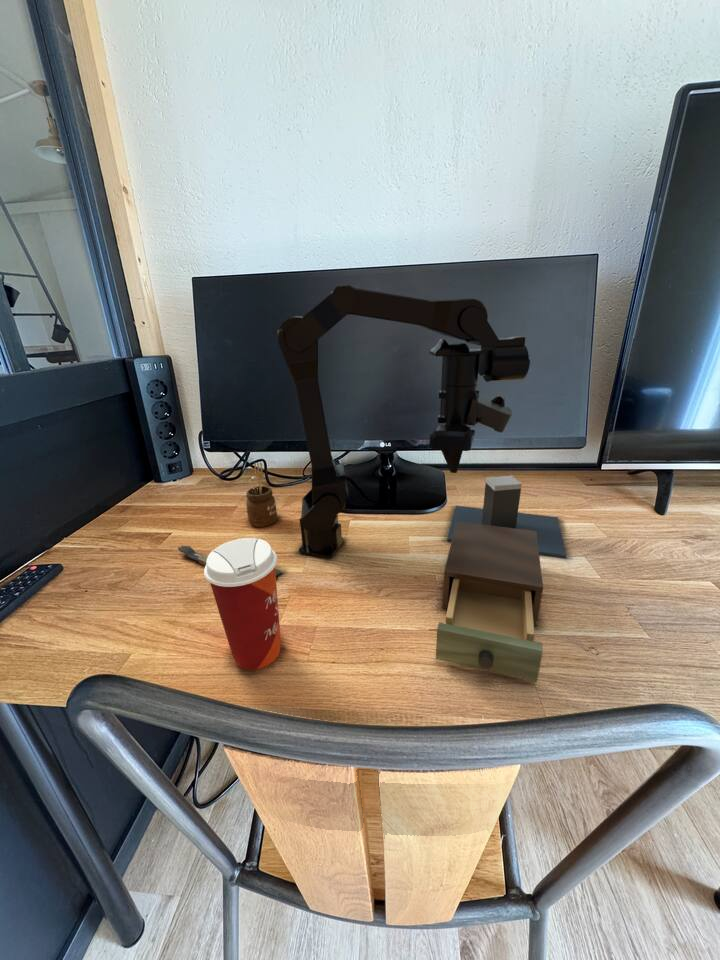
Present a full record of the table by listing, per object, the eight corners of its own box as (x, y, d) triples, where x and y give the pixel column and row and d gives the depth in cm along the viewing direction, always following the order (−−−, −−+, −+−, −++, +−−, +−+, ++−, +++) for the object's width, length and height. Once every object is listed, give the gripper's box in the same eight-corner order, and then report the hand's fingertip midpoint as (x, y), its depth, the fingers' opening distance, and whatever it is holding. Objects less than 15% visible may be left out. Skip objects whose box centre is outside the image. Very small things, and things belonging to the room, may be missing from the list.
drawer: (537, 692, 44) (544, 659, 42) (433, 667, 47) (435, 636, 46) (531, 604, 57) (535, 576, 55) (449, 590, 60) (451, 563, 58)
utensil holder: (246, 529, 81) (237, 474, 76) (251, 514, 87) (243, 463, 82) (276, 526, 82) (268, 472, 77) (279, 512, 87) (272, 461, 83)
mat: (447, 541, 74) (447, 538, 74) (455, 507, 86) (455, 505, 86) (565, 558, 68) (566, 555, 68) (557, 519, 80) (557, 517, 80)
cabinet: (536, 626, 54) (543, 587, 51) (442, 608, 58) (444, 570, 55) (530, 565, 67) (536, 531, 64) (454, 553, 70) (456, 520, 68)
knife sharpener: (489, 534, 75) (494, 486, 71) (481, 524, 78) (486, 477, 74) (515, 532, 75) (521, 483, 71) (505, 522, 79) (511, 475, 75)
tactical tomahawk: (283, 575, 67) (283, 570, 67) (254, 595, 62) (253, 589, 62) (204, 540, 78) (204, 535, 78) (173, 554, 73) (172, 549, 72)
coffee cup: (297, 661, 50) (284, 561, 44) (230, 688, 47) (206, 584, 41) (279, 619, 57) (265, 528, 51) (220, 640, 54) (197, 545, 48)
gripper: (512, 396, 54) (500, 499, 60) (511, 375, 70) (502, 458, 77) (430, 394, 58) (427, 492, 64) (447, 374, 74) (443, 453, 80)
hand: (453, 472), depth 71 cm, fingers closed
